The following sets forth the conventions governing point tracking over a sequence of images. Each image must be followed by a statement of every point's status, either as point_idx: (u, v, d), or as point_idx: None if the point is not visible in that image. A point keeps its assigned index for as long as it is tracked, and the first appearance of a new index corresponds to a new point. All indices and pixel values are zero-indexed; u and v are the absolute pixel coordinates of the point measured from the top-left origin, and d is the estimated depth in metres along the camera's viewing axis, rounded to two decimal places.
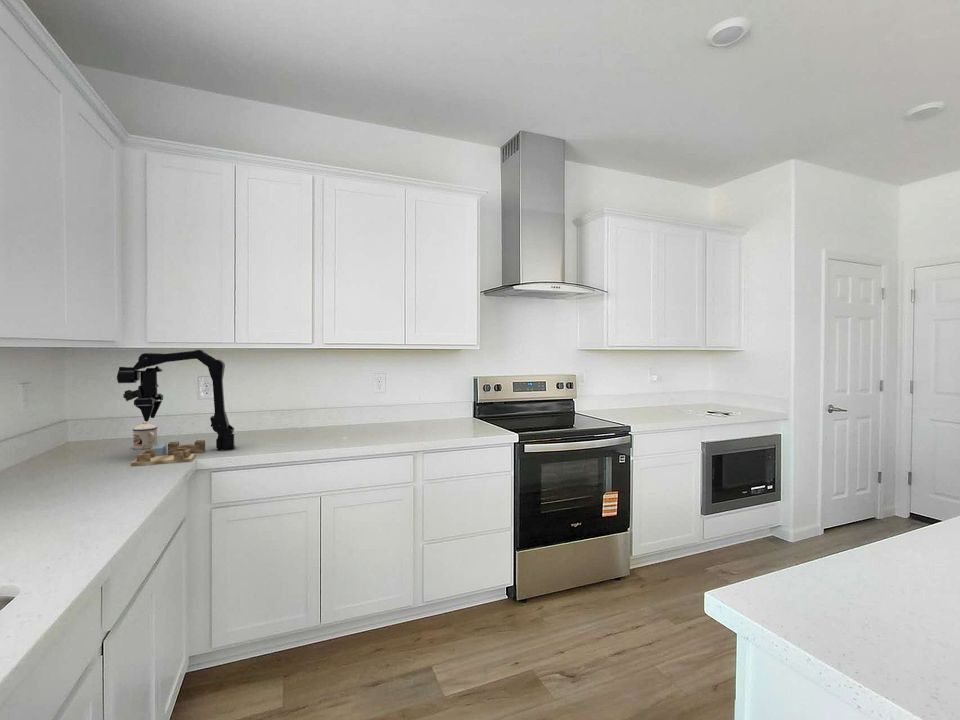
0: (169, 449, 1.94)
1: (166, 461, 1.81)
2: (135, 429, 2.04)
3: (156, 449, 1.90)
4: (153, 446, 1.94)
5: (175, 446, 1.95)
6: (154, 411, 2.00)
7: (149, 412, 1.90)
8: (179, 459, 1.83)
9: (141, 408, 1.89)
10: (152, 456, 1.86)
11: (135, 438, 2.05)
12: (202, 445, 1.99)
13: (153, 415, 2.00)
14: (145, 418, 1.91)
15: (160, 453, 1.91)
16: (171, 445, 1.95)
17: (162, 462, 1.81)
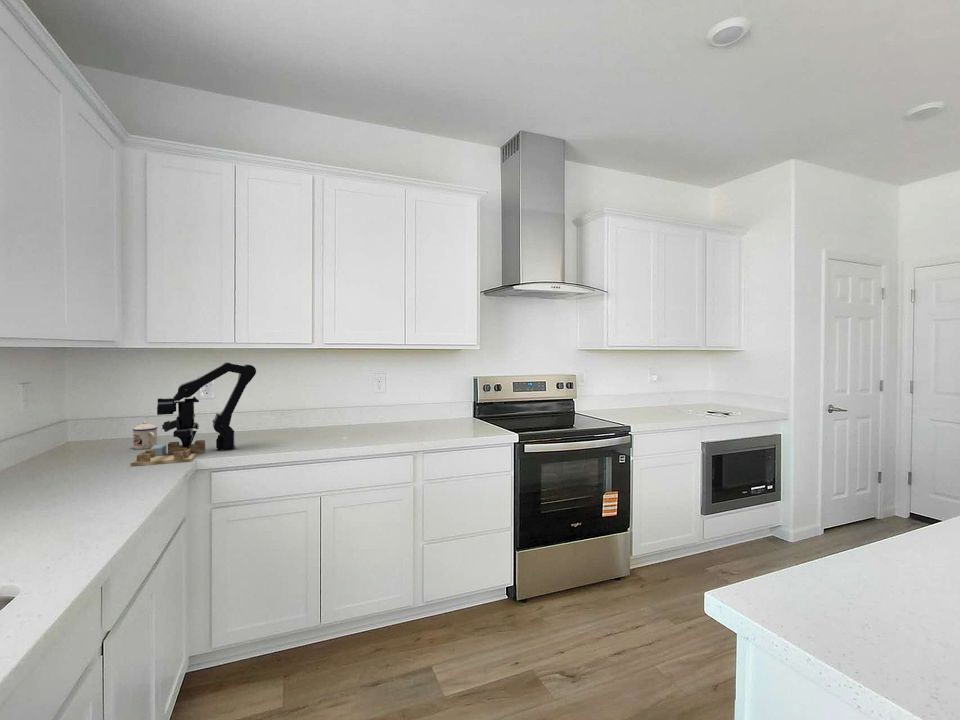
0: (169, 449, 1.94)
1: (166, 461, 1.81)
2: (135, 429, 2.04)
3: (156, 449, 1.90)
4: (153, 446, 1.94)
5: (175, 446, 1.95)
6: (189, 442, 2.01)
7: (189, 442, 1.96)
8: (179, 459, 1.83)
9: (181, 438, 1.94)
10: (152, 456, 1.86)
11: (135, 438, 2.05)
12: (202, 445, 1.99)
13: None
14: (185, 447, 1.96)
15: (160, 453, 1.91)
16: (171, 445, 1.95)
17: (162, 462, 1.81)
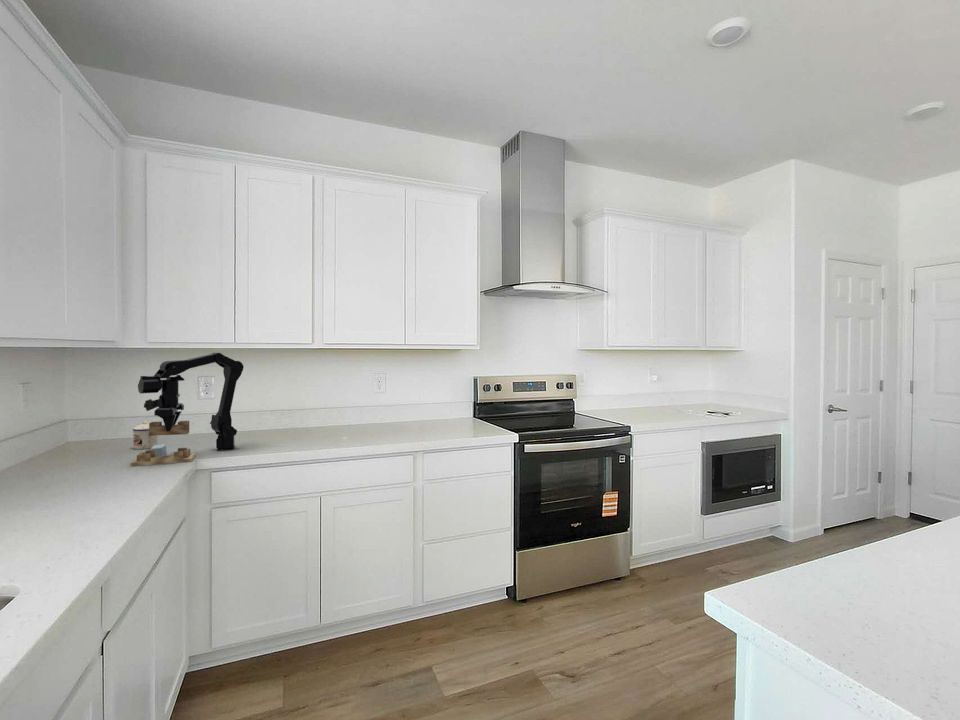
0: (150, 429, 1.85)
1: (166, 461, 1.81)
2: (135, 429, 2.04)
3: (156, 449, 1.90)
4: (153, 446, 1.94)
5: (157, 426, 1.85)
6: (173, 423, 1.91)
7: (171, 422, 1.86)
8: (179, 459, 1.83)
9: (163, 418, 1.84)
10: (152, 456, 1.86)
11: (135, 438, 2.05)
12: (185, 426, 1.89)
13: None
14: (167, 428, 1.86)
15: (160, 453, 1.91)
16: (153, 424, 1.85)
17: (162, 462, 1.81)
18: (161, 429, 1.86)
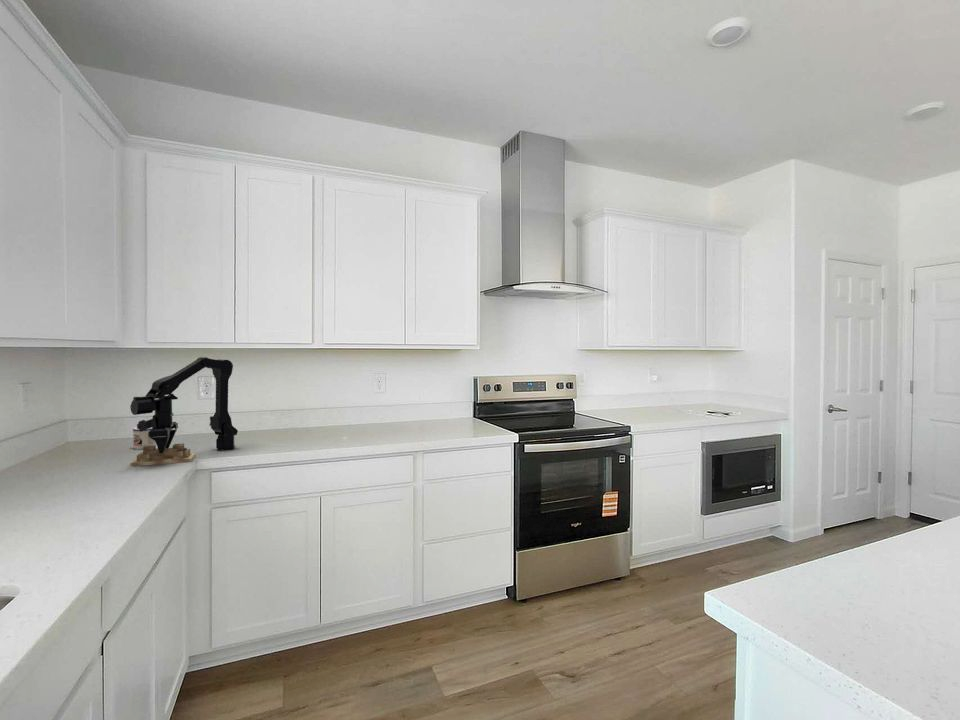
0: (144, 453, 1.81)
1: (166, 461, 1.81)
2: (135, 429, 2.04)
3: None
4: None
5: (151, 450, 1.81)
6: (169, 441, 1.89)
7: (164, 443, 1.80)
8: (179, 459, 1.83)
9: (156, 439, 1.78)
10: None
11: (135, 438, 2.05)
12: (180, 449, 1.85)
13: (168, 445, 1.89)
14: (160, 450, 1.80)
15: None
16: (147, 449, 1.81)
17: (162, 462, 1.81)
18: (155, 454, 1.82)
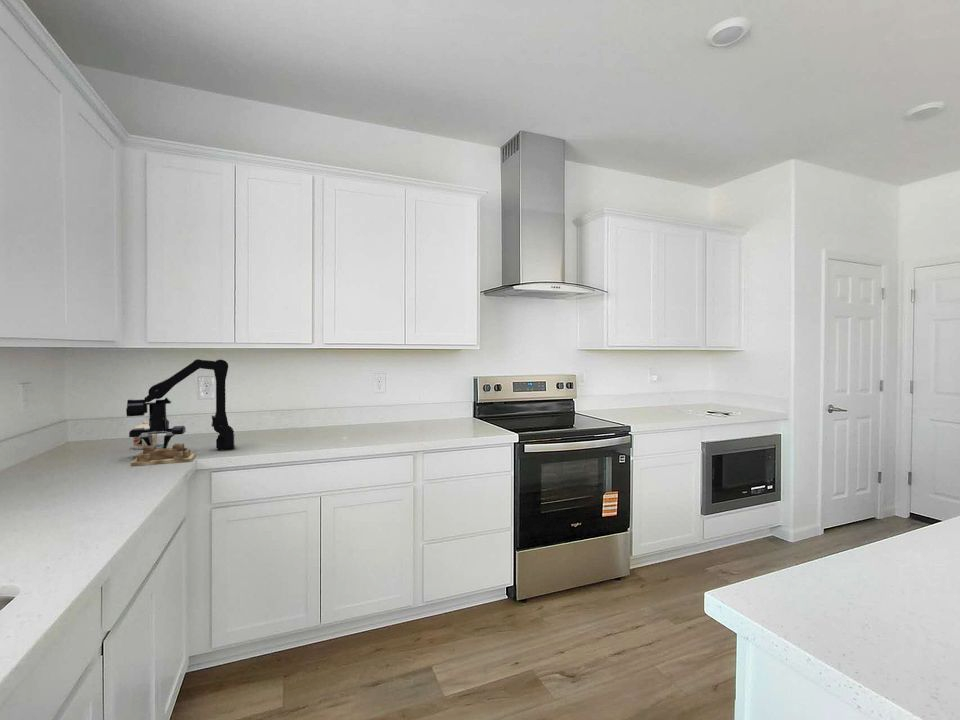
0: (144, 453, 1.81)
1: (166, 461, 1.81)
2: None
3: None
4: None
5: (151, 450, 1.81)
6: None
7: None
8: (179, 459, 1.83)
9: None
10: None
11: (135, 438, 2.05)
12: (180, 449, 1.85)
13: None
14: None
15: None
16: (147, 449, 1.81)
17: (162, 462, 1.81)
18: (155, 454, 1.82)
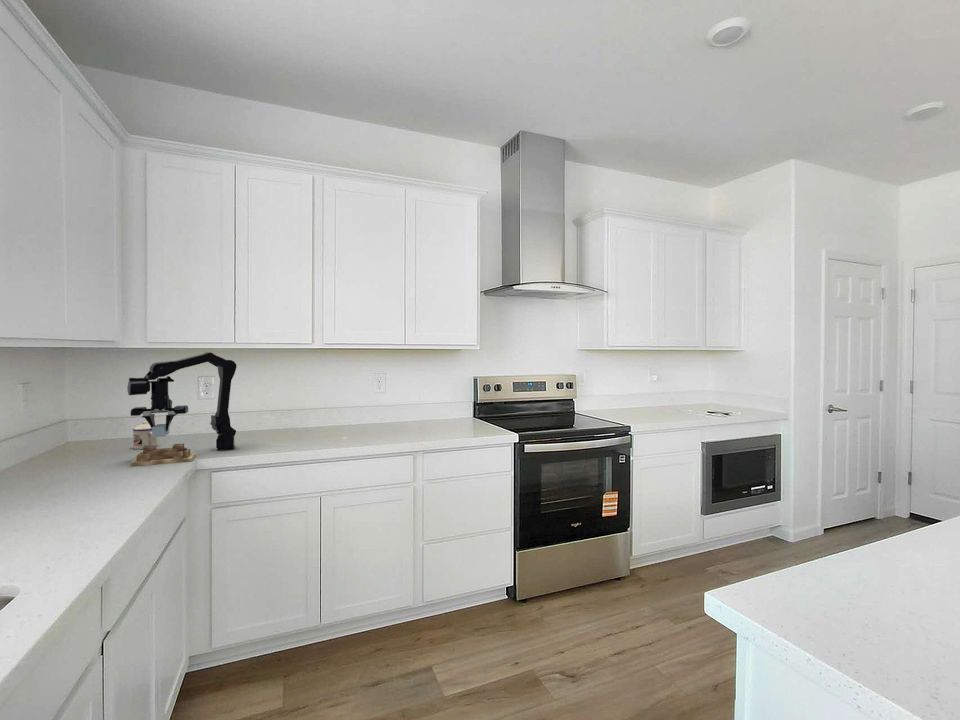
0: (144, 453, 1.81)
1: (166, 461, 1.81)
2: (135, 429, 2.04)
3: (158, 428, 1.85)
4: (155, 425, 1.89)
5: (151, 450, 1.81)
6: None
7: None
8: (179, 459, 1.83)
9: None
10: None
11: (135, 438, 2.05)
12: (180, 449, 1.85)
13: None
14: None
15: (162, 432, 1.86)
16: (147, 449, 1.81)
17: (162, 462, 1.81)
18: (155, 454, 1.82)
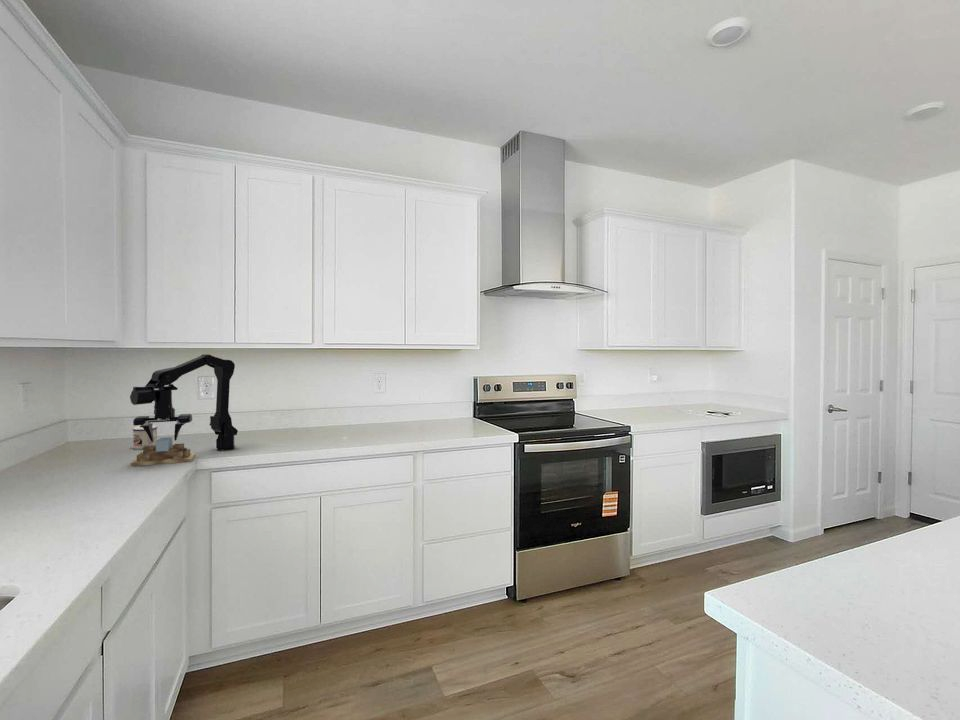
0: (144, 453, 1.81)
1: (166, 461, 1.81)
2: (135, 429, 2.04)
3: (162, 442, 1.81)
4: (159, 439, 1.85)
5: (151, 450, 1.81)
6: None
7: None
8: (179, 459, 1.83)
9: None
10: None
11: (135, 438, 2.05)
12: (180, 449, 1.85)
13: None
14: None
15: (166, 446, 1.82)
16: (147, 449, 1.81)
17: (162, 462, 1.81)
18: (155, 454, 1.82)
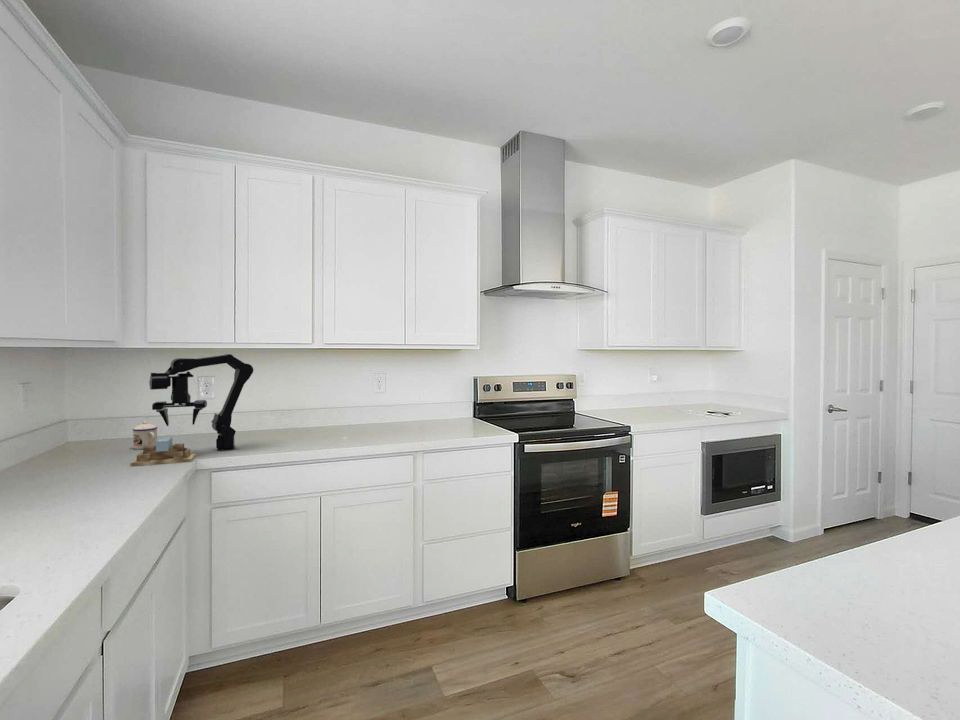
0: (144, 453, 1.81)
1: (166, 461, 1.81)
2: (135, 429, 2.04)
3: (162, 442, 1.81)
4: (159, 439, 1.85)
5: (151, 450, 1.81)
6: None
7: None
8: (179, 459, 1.83)
9: None
10: None
11: (135, 438, 2.05)
12: (180, 449, 1.85)
13: None
14: None
15: (166, 446, 1.82)
16: (147, 449, 1.81)
17: (162, 462, 1.81)
18: (155, 454, 1.82)
